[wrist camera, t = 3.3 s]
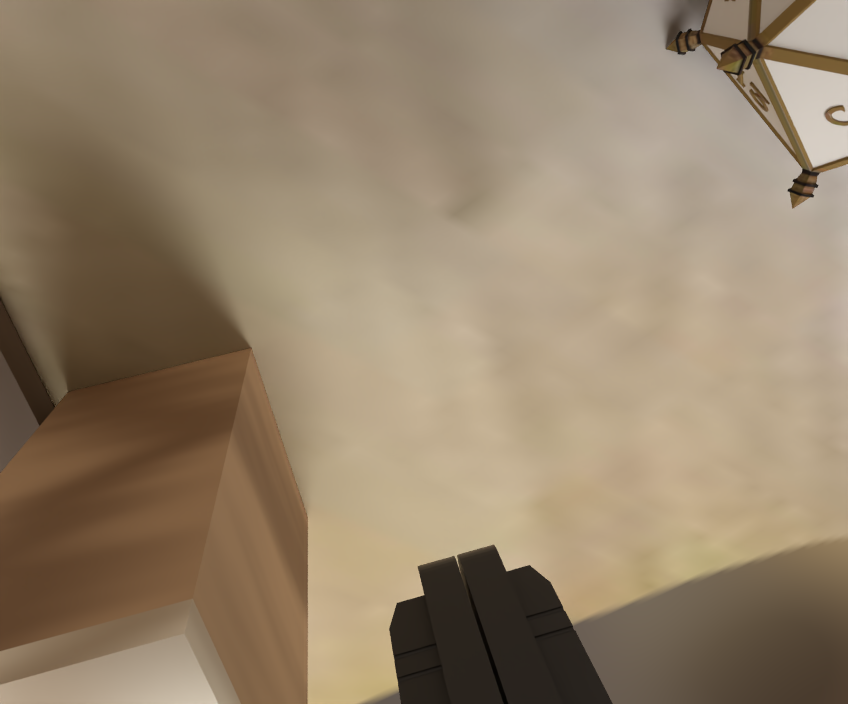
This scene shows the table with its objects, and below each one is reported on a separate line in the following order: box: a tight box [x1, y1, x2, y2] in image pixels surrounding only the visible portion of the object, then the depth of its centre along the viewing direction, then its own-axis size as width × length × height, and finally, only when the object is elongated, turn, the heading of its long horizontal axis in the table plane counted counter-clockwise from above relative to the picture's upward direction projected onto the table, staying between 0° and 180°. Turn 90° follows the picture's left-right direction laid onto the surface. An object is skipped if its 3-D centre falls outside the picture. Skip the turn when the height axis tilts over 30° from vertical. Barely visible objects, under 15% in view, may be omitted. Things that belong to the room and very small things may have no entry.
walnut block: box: [0, 348, 308, 704], centre depth 13 cm, size 5×6×10 cm
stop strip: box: [0, 300, 54, 473], centre depth 17 cm, size 2×12×1 cm, turn 11°
